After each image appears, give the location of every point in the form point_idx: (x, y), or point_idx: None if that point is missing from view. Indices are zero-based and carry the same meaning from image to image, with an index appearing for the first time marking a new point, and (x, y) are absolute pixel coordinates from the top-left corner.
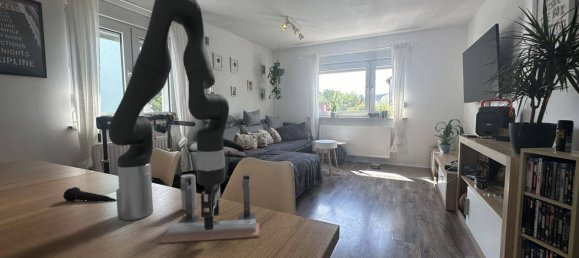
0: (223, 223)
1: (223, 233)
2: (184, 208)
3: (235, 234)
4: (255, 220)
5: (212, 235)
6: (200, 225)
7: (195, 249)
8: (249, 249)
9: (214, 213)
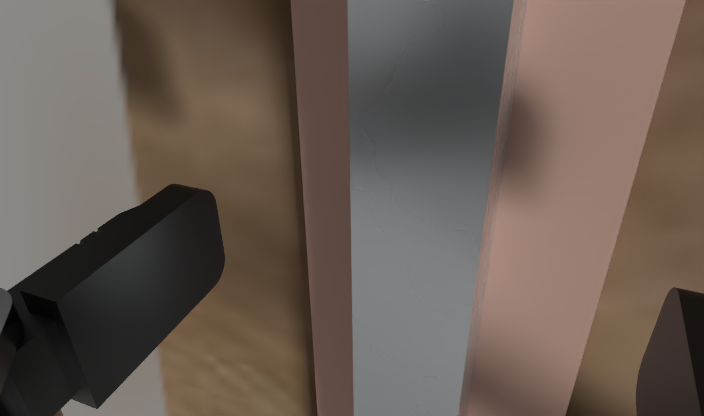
0: (384, 372)
1: None
2: None
3: (339, 378)
4: None
5: (347, 196)
6: (363, 94)
7: (156, 36)
8: (189, 392)
9: (656, 356)
